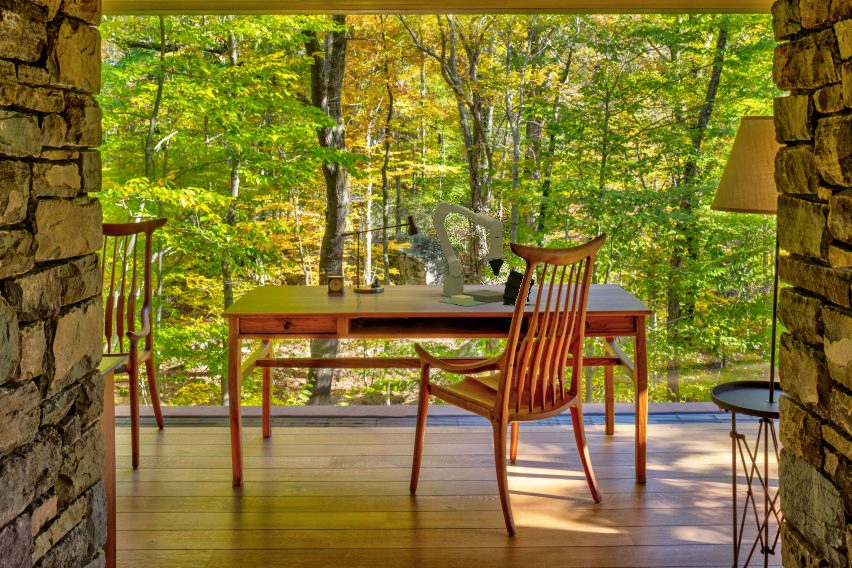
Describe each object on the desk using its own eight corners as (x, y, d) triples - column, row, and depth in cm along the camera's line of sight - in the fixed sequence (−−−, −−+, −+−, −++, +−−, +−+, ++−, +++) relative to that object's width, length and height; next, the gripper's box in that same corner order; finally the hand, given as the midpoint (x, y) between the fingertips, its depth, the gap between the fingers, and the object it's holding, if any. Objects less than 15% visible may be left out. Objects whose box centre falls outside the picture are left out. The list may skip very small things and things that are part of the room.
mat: (439, 301, 347) (439, 300, 347) (459, 299, 354) (459, 298, 354) (466, 306, 333) (466, 305, 333) (487, 303, 341) (487, 302, 341)
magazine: (495, 299, 341) (511, 268, 339) (523, 313, 341) (539, 282, 338) (495, 301, 338) (511, 269, 335) (523, 314, 337) (539, 283, 335)
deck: (462, 299, 354) (462, 292, 354) (485, 296, 363) (485, 289, 363) (487, 303, 342) (487, 296, 342) (510, 300, 351) (510, 293, 350)
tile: (461, 294, 348) (461, 300, 348) (451, 296, 344) (450, 301, 344) (473, 296, 342) (473, 302, 342) (463, 298, 338) (463, 303, 338)
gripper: (491, 247, 353) (490, 277, 355) (513, 245, 362) (513, 275, 364) (480, 246, 358) (479, 276, 360) (502, 245, 367) (502, 274, 369)
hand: (496, 275), depth 362 cm, fingers closed
